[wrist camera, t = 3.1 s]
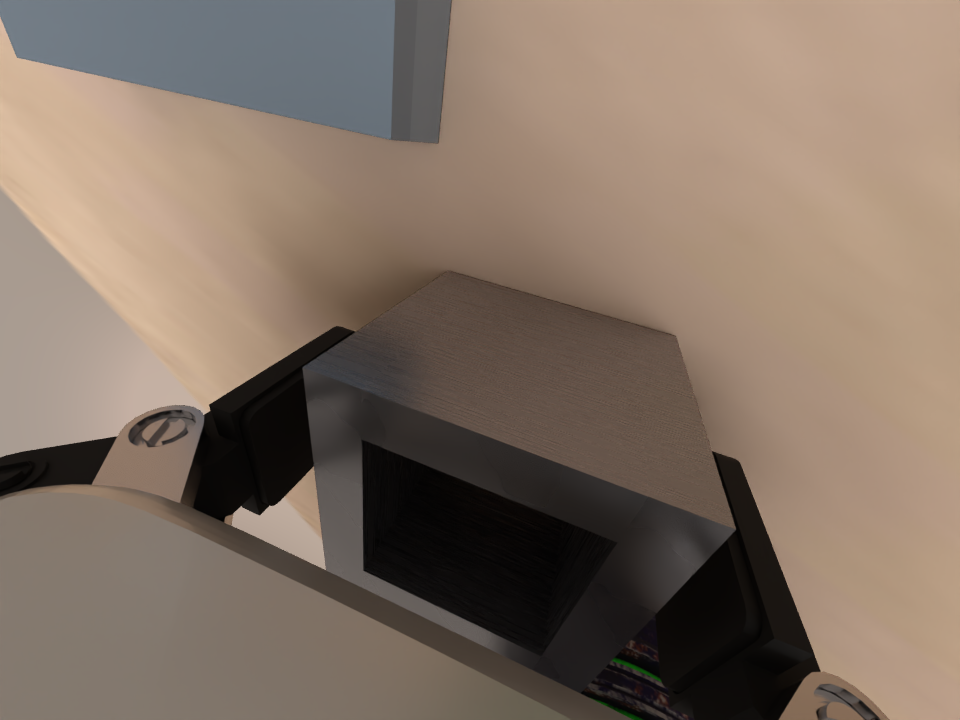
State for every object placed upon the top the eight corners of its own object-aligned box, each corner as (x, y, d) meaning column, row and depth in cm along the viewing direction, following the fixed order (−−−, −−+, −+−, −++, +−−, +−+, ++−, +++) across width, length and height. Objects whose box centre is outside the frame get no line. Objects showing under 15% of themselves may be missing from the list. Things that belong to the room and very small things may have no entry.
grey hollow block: (592, 493, 13) (575, 698, 8) (428, 430, 14) (326, 574, 9) (676, 336, 10) (736, 529, 5) (447, 270, 11) (302, 367, 6)
